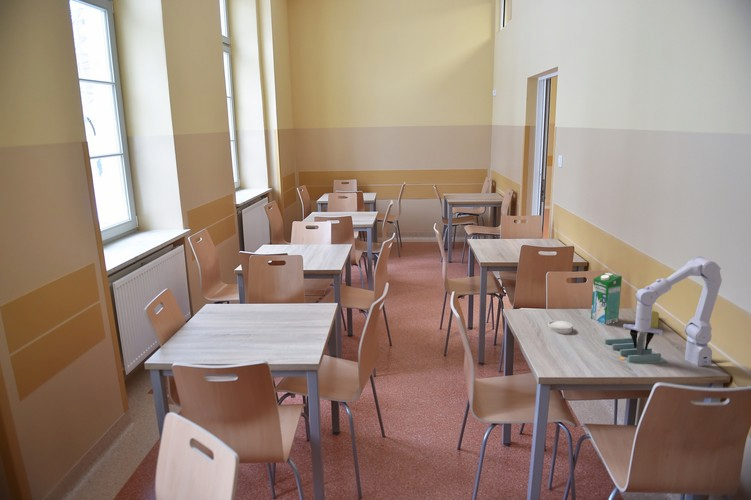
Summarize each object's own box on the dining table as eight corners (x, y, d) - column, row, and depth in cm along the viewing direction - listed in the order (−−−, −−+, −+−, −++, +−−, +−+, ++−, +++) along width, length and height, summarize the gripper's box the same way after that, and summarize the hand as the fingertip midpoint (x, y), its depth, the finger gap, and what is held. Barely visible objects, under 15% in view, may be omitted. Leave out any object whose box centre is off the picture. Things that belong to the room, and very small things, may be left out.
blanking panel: (644, 348, 223) (645, 333, 222) (641, 355, 217) (643, 339, 215) (639, 347, 224) (640, 332, 223) (636, 354, 218) (637, 338, 216)
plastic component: (657, 329, 253) (659, 310, 251) (640, 329, 255) (642, 309, 253) (645, 316, 272) (647, 297, 270) (630, 315, 274) (631, 297, 272)
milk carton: (590, 321, 266) (593, 274, 261) (603, 318, 270) (607, 271, 264) (604, 327, 258) (608, 278, 253) (618, 324, 262) (622, 275, 256)
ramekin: (552, 328, 258) (553, 318, 256) (575, 333, 251) (576, 323, 249) (543, 335, 249) (544, 325, 248) (567, 340, 242) (567, 330, 241)
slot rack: (666, 362, 218) (667, 354, 217) (625, 365, 216) (626, 357, 215) (636, 343, 238) (636, 336, 237) (598, 345, 236) (599, 338, 235)
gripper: (664, 317, 216) (661, 348, 219) (626, 311, 224) (623, 341, 227) (662, 322, 211) (659, 354, 213) (623, 316, 218) (620, 347, 221)
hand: (640, 348), depth 220 cm, fingers open, 3 cm apart
